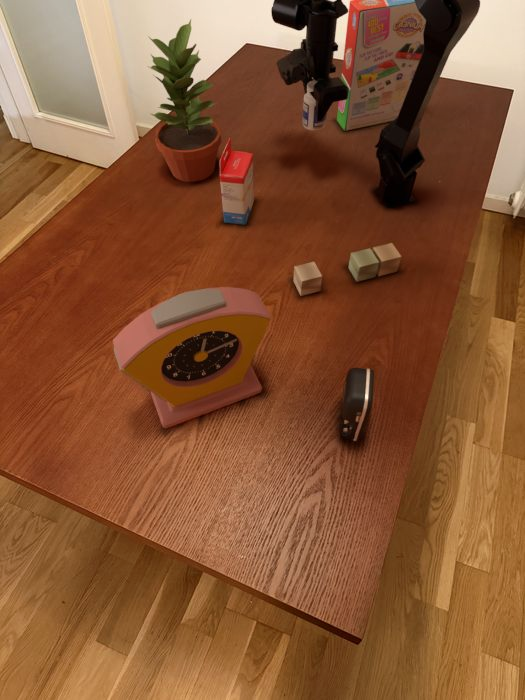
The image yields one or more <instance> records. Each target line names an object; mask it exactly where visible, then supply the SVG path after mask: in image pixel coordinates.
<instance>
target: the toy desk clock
mask: <svg viewBox="0 0 525 700" xmlns="http://www.w3.org/2000/svg"><path fill="white" fill-rule="evenodd" d="M271 320H272V316H271V314H270V313H269V311H268V309H267V307H266V306H265V304H264V302H263V301H262V298H261V297H260V295H259V293H258V292H257V291H253V290H249V289H246V288H242V287H241V288H240V287H234V286H233V287H232V286H219V287H217V286H216V287H206V288H202V289H195V290H189V291H185V292H182V293H180V294H177V295H174V296H173V297H170V298H168V299H166V300H163V301H161V302H159V303H157V304H155V305H154V306H152V307H150V308H149V309H147V310H145V311H143V312H142V313H140V314H139V315H138V316H137V317H135V319H134V318H133V320H132V321H130V322H129V323H128V324H127V325H126V326H125V327H123V328H122V329H121V331H120V332H119V333H118V334H117V335H116V336H115V337H114V338H113V339H112V344H113V353H114V356H115V358H116V359H115V360H116V362H117V366H118V368H119V371H121V372H122V373H123V374H125V375H126V376H128V378H131V379H132V380H133V381H135V382H136V383H137V384H139V385H141V386H143V388H145V389H146V390H147V391H149V393H150V395H151V398H152V401H153V404H154V406H155V409H156V412H157V415H158V417H159V421H160V424H161V427H162V428H164V429H169V428H171V427H173V426H176V425H179V424H181V423H185V422H187V421H189V420H192V419H194V418H197V417H200V416H203V415H205V414H208V413H211V412H214V411H216V410H218V409H221V408H223V407H226V406H229V405H231V404H234V403H237V402H239V401H242V400H245V399H247V398H250V397H253V396H255V395H258V394H260V393H261V392H262V391H263V386H262V384H261V381H259V378H258V376H257V374H256V373H255V370H254V368H253V367H252V364H251V363H252V361H253V359H254V356H255V354H256V352H257V350H258V348H259V346H260V343H261V341H262V340H263V337H264V334H265V332H266V331H267V328H268V327H269V324H270V322H271Z"/></svg>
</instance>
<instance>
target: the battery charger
mask: <svg viewBox="0 0 525 700" xmlns="http://www.w3.org/2000/svg"><path fill="white" fill-rule="evenodd" d="M374 387H375V371H374V370H373V369H370V368H362V367H352V368H350V369H348V371H347V373H346V375H345V379H344V383H343V388H342V396H341V397H342V399H341V406H340V414H341V423H340V424H341V425H340V435H341V437H342V438H344V439H346V440H349V441H353V442H360V441H361V440H362V438H363V434H364V432H365V428H366V426H367V423H368V420H369V418H370V414H371V411H372V407H373V402H374V401H373V400H374Z"/></svg>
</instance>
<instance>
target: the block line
mask: <svg viewBox="0 0 525 700" xmlns="http://www.w3.org/2000/svg"><path fill="white" fill-rule="evenodd" d="M401 260H402V255H401V253H400V252H399V251H398V249H397V248H396V246H395V245H394V243H392V242H389V243H386V244H381V245H377V246H373V247H372V249H371V248H365V249H362V250H361V249H360V250H358V251H353V252H350V256H349V261H348V266H347V268H348V270H349V272H350V273H351V275H352V277H353V278H354V280H355V282H356V283H358V282H361V281H365V280H369V279H373V278H376V277H377V276H378V277H381V276H384V275H385V276H386V275H389V274H393V273H398V270H399V266H400V263H401ZM322 280H323V275H322V273H321V271H320V269H319V267H318V266H317V264H316V262H315V261H311V262H308V263H302V264H298V265H294V266H293V281H292V282H293V284H294V285H295V287H296V290H297V291H298V294H299V295H300V296H301V297H302V296H307V295H311V294H314V293H318V292H321V288H322Z"/></svg>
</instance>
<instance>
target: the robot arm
mask: <svg viewBox="0 0 525 700" xmlns="http://www.w3.org/2000/svg"><path fill="white" fill-rule="evenodd" d="M414 1H415V3H416V6H417V9H418V11H419V12H420V13H421V15H422V16H423V17H424V18H425V19H426V22H425V27H424V32H423V40H424V49H423V53H422V55H421V58H420V60H419V63H418V66H417V68H416V71H415V73H414V76H413V78H412V81H411V84H410V86H409V89H408V91H407V94H406V97H405V99H404V102H403V104H402V107H401V110H400V112H399V115H398V117H397V118H396V119H394V120H393V121H391V122H388V124H387V125H386V126H384V127H383V128H382V129H381V130H380V131H381V132H380V133H379V138H378V141H377V144H376V145H374V148H375V149H376V152H375V157H376V159H377V160H378V166H379V174H380V180H379V184H378V187H376V188H375V193H376V194H377V195H378V197H379V198H380V199H381V201H382V202H383V203H384V205H385V206H386V207H387V208H393V207H399V206H402V205H403V206H404V205H407V204H411V203H414V202H415V198H414V197H413V195H412V193H413V190H414V187H415V183H416V179H417V177H418V176H417V175H418V172H417V170H418V169H419V168H421V166H422V165H423V164H424V163H425V161H426V159H425V157H424V155H423V153H422V151H421V149H420V147H419V146H418V145H419V141H420V137H421V128H420V124H421V122H422V120H423V117H424V115H425V112H426V110H427V108H428V105H429V103H430V101H431V98H432V97H433V94H434V91H435V89H436V88H437V85H438V83H439V80H440V78H441V75H442V73H443V71H444V68H445V67H446V64H447V62H448V59H449V57H450V55H451V53H452V52H453V50H454V49H455V47H456V46H457V45H458V43H459V42H460V41H461V39H462V38H463V36H464V35H465V34H466V33H467V31H468V29H469V28H470V26H472V24H473V22H474V20H475V19H476V17H477V16H478V14H479V11H480V8H481V0H414ZM270 12H271V18H272V20H273V21H272V22H274V23H275V24H277V25H278V24H279V25H280V26H284V27H286V28H290V29H293V30H295V31H299V32H300V31H303V30H304V29H305V28H306V29H305V38H302V40H301V42H300V48H294V49H293V50H292V51H290V53H288V54H287V55H285V56H283V57H281V58H280V59H278V60H277V61H276V66H277V70H278V72H279V75H280V78H281V80H283V82H284V84H285V85H286V86H291V85H294V84H297V83H299V82H300V81H301V82H302V85H303V90H304V91H303V92H304V95H305V94H306V93H307V84H308V83H309V82H310V81H314V82H317V83H316V84H315V85H314V88H313V92H310V94H311V95H312V97H313V98H314V99H315V100H316V116H317V121H321V120H323V118H324V116H325V115H326V113H327V114H328V111H329V110H330V108H331V107H332V105H333V104H334V103H336V102H339V101H342V100H346V99H347V98H348V92H349V88H348V87H347V86H346V85H345V83H344V82H343V81H342V80H341V78H340V77H339V76H336V77H331V76H330V74H335V73H336V71H337V67H336V65H335V64H334V54H335V52H338V51H339V44H338V43H337V42H336V33H337V24H338V19H339V18H341V17H343V16H345V15H346V14H349V8H348V7H347V5H346V4H345V3H344V2H343V0H334V1H333V0H273V3H272V6H271V11H270Z"/></svg>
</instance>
